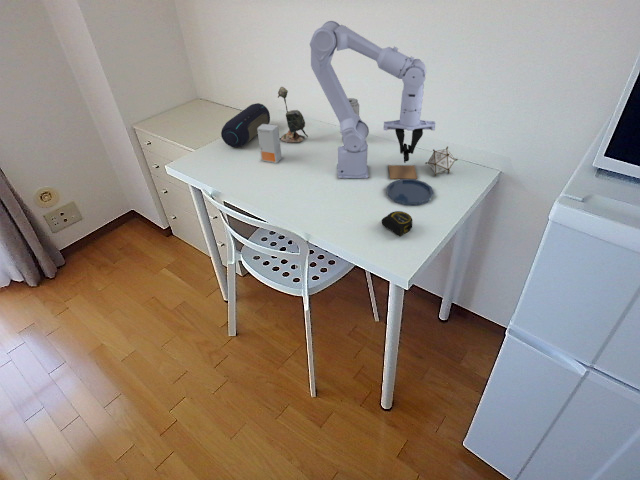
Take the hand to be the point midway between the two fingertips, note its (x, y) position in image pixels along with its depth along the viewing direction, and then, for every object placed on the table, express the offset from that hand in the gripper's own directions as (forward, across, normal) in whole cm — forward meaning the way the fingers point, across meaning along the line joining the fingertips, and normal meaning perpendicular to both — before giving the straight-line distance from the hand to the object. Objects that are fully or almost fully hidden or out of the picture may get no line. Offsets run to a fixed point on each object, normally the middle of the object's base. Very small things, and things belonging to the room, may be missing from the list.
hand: (406, 152), depth 121 cm
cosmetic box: (+9, -44, +12) cm, 47 cm away
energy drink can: (+9, -17, +27) cm, 33 cm away
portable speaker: (+9, -56, +30) cm, 65 cm away
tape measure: (+9, -4, -28) cm, 30 cm away
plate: (+9, +1, -10) cm, 13 cm away
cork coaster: (+9, 0, +3) cm, 9 cm away
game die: (+9, +11, +3) cm, 15 cm away
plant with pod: (+9, -38, +28) cm, 48 cm away
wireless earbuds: (+2, +1, -1) cm, 2 cm away
